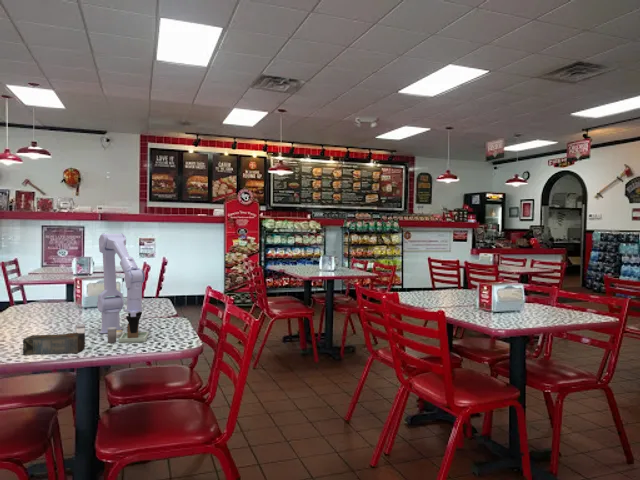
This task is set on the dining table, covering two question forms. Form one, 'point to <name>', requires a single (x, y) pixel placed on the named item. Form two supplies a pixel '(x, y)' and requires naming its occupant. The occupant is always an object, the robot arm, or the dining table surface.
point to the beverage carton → (54, 344)
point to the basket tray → (141, 338)
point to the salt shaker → (80, 328)
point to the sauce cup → (119, 333)
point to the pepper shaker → (112, 334)
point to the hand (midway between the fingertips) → (134, 331)
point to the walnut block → (131, 335)
